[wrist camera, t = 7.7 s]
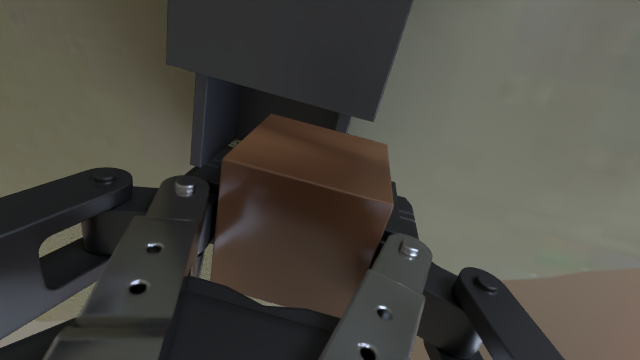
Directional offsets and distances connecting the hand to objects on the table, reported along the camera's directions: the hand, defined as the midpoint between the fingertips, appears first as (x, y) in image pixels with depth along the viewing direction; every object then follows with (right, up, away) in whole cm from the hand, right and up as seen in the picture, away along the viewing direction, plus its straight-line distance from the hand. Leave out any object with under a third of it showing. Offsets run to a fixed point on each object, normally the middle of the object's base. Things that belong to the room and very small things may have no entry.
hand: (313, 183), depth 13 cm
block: (0, 0, 0) cm, 0 cm away
